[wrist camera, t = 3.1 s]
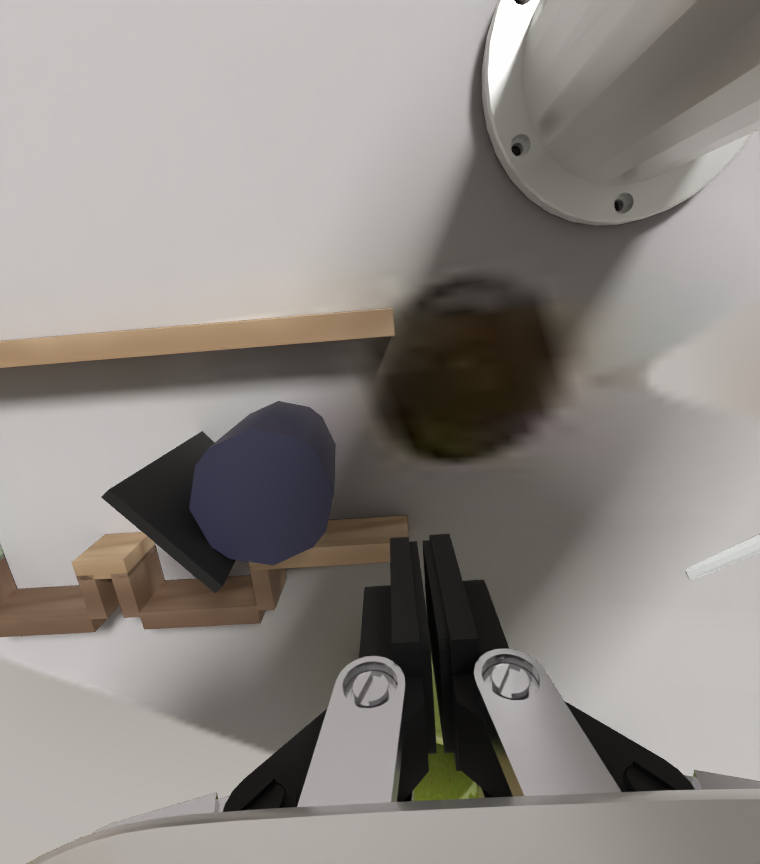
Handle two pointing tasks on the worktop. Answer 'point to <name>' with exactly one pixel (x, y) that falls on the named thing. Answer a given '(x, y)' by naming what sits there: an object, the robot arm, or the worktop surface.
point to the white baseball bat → (725, 558)
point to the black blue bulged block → (237, 493)
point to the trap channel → (136, 553)
